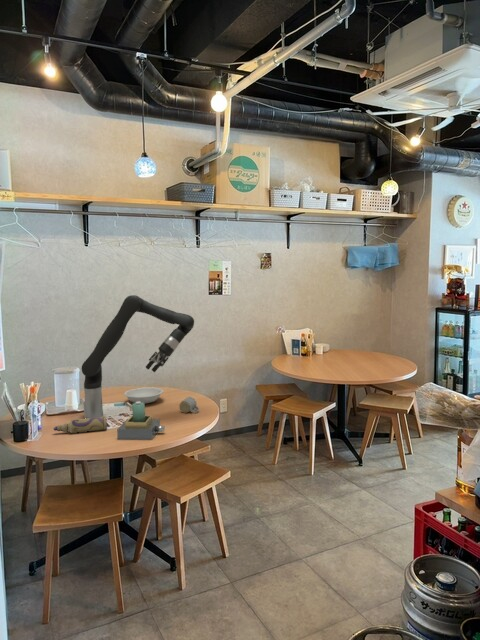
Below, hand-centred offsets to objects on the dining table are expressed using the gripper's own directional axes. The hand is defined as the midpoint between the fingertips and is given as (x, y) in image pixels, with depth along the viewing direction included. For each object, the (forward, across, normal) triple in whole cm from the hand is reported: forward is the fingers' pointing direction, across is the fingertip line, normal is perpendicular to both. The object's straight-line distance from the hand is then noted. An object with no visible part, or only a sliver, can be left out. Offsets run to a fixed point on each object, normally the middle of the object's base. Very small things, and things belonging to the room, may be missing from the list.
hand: (149, 369), depth 246 cm
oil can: (+26, +13, +7) cm, 30 cm away
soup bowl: (+12, -40, +28) cm, 51 cm away
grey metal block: (+28, +14, +13) cm, 33 cm away
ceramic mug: (+2, -5, +38) cm, 39 cm away
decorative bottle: (+44, -9, -3) cm, 46 cm away
